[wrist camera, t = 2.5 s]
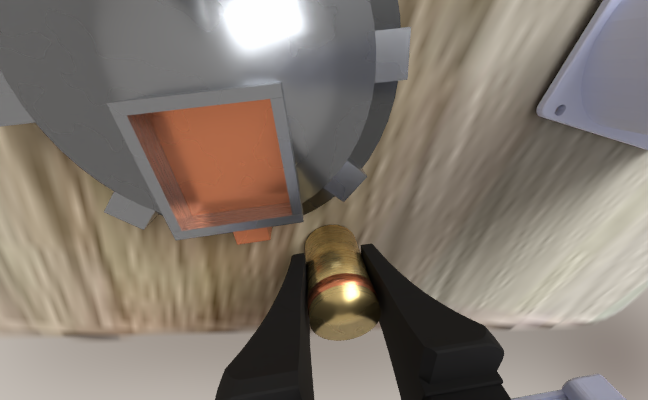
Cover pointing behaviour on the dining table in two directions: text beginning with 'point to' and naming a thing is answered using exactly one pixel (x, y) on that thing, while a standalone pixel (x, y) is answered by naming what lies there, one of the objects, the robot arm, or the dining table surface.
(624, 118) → the robot arm
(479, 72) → the dining table surface
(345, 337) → the roller
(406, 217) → the dining table surface
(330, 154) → the grey toothed wheel
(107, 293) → the dining table surface
